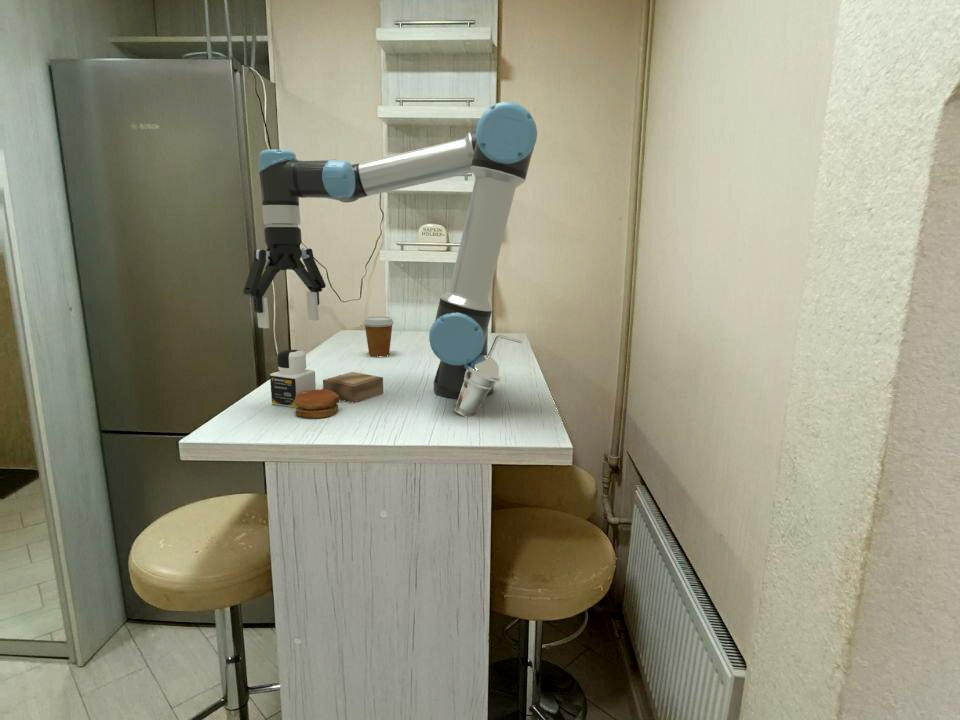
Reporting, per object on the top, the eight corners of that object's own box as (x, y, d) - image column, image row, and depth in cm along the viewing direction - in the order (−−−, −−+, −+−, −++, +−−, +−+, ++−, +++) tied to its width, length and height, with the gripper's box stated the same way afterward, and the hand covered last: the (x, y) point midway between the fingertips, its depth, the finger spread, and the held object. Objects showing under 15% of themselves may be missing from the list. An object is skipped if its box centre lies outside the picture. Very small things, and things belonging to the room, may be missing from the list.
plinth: (383, 393, 136) (383, 376, 135) (354, 403, 128) (354, 385, 127) (353, 387, 141) (352, 370, 140) (323, 396, 133) (322, 379, 132)
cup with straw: (459, 405, 128) (494, 325, 125) (490, 423, 124) (527, 341, 121) (438, 404, 120) (475, 320, 118) (471, 424, 116) (510, 337, 113)
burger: (332, 420, 116) (331, 398, 115) (288, 419, 117) (286, 398, 116) (345, 406, 126) (344, 386, 125) (304, 405, 126) (303, 385, 125)
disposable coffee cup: (388, 359, 174) (387, 321, 171) (359, 357, 175) (358, 319, 173) (398, 353, 183) (397, 316, 180) (371, 351, 184) (370, 315, 182)
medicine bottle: (271, 404, 126) (267, 352, 124) (292, 396, 133) (289, 346, 130) (296, 408, 124) (293, 355, 121) (317, 400, 130) (314, 349, 127)
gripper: (315, 227, 133) (320, 315, 137) (218, 225, 112) (229, 329, 117) (337, 226, 129) (342, 318, 133) (242, 225, 108) (251, 333, 113)
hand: (289, 323), depth 125 cm, fingers open, 13 cm apart
